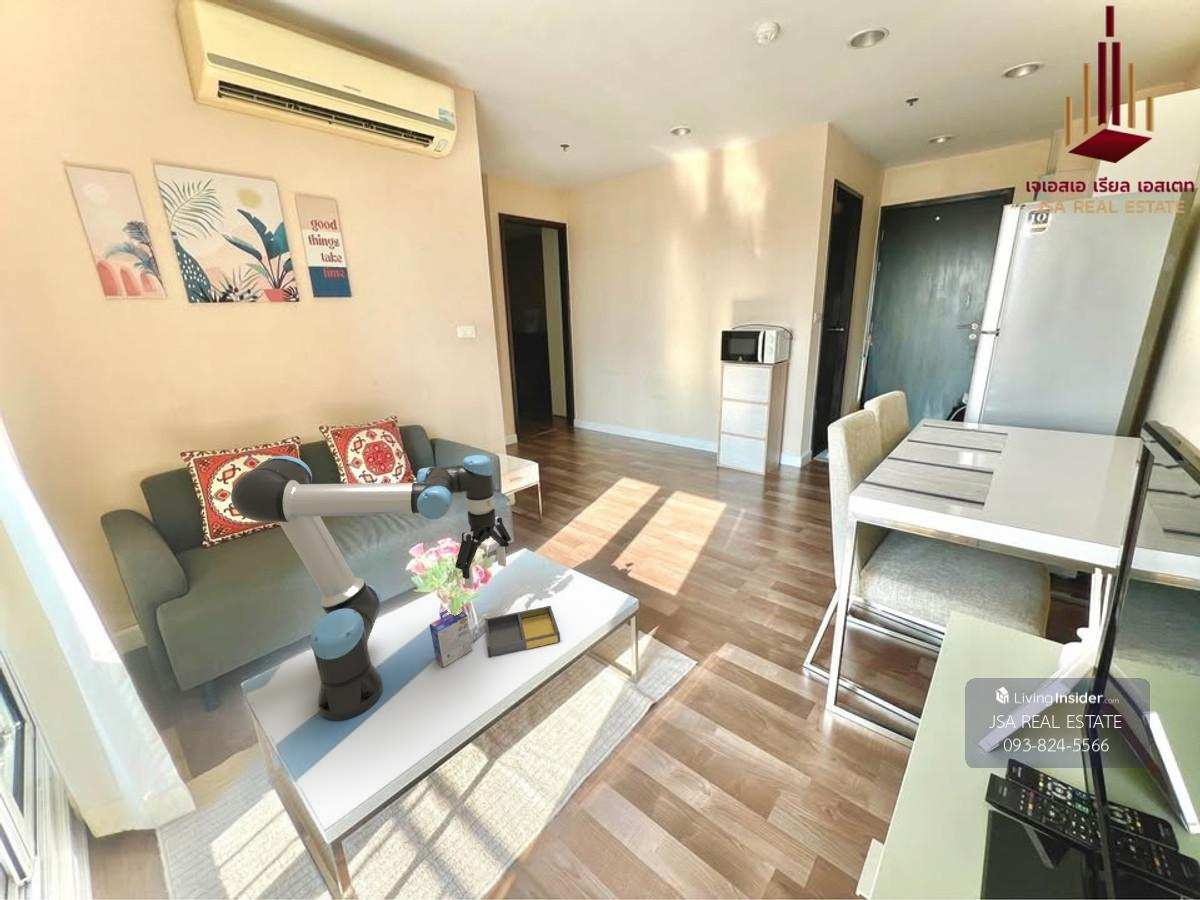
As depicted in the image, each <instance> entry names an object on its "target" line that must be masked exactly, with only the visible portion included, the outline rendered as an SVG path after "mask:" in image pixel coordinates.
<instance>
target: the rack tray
mask: <svg viewBox="0 0 1200 900" xmlns="http://www.w3.org/2000/svg"><path fill="white" fill-rule="evenodd" d="M484 622H485V633H486V642H487V652H488V658H494V657H499V656H503V655H507V654H511V653H515V652H520V651H524V650H529V649H535V648H538V647H541V646H547V645H551V644H552V645H553V644H555V643H560V642H561V633H560V630H559V627H558V624H557V622H556V618H555V615H554V611H553V609H552V607H551V605H546V606H542V607H536V608H533V609H528V610H523V611H518V612H512V613H508V614H502V615H499V616H497V615H496V616H494V617H492V616H491V617H488V618H484Z"/></svg>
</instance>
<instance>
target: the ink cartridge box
mask: <svg viewBox="0 0 1200 900" xmlns="http://www.w3.org/2000/svg"><path fill="white" fill-rule="evenodd" d="M447 610H448V609H446V610H444V611H442V612H440V613H439V617H440V618H439V619H438V620H436V621H434V622H431V623H430V624H429V629H430V636H431V640H432V646H433V650H434V656H435V660H436V662H437V663H438V664H439V665H440V666H441V667H442V668H445V667H447V666H448V665H449V664H451V663H453V662H455V661H456V660H458V659H460V658H461V657H463V656H465V655H467V654H468V653H470V652H472V651H473V646H472V639H471V638H472V637H471V632H470V631H471V630H470V624H469V616H468V614H466V613H465V612H463V611H462V612H461V613H460V614H458V615H456V616H454V615H452V614H450V613H449V612H448V611H447ZM446 613H449V614H447V615H445V614H446ZM444 615H445V616H444Z"/></svg>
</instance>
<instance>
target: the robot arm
mask: <svg viewBox="0 0 1200 900" xmlns="http://www.w3.org/2000/svg"><path fill="white" fill-rule="evenodd" d="M416 475H417V476H416V482H389V483H388V482H382V483H381V482H380V483H379V482H378V483H377V482H376V483H375V482H373V483H370V482H369V483H367V482H366V483H312V481H313V474H312V470H311V469H310V467H309V466H308V464H306V462H304V461H303V460H301V459H299V458H297V457H294V456H291V455H277V456H273V457H271V458H268V459H267V460H265V461H262V462H260V463H259V464H258V465H257V466H256V467H254V468H253V469H251V470H250V471H248V472H247V473H245V474H244V475H242V476H241V477H240V478H238V479H237V481H236V482H235V483H234V485H233V487H232V489H231V494H230V499H231V503H232V507H234V509H235V511H236V512H237V513H239V515H241V516H243V517H244V518H246V519H249V520H251V521H255V522H261V523H279V525H280V526H281V527H280V528H282V530H283V532H284V533H285V536H287V539H288V540H289V541H290V543H291V545H292V546H293V549H294V551H295V552H296V553H297V555H298V557H299V558H300V560H301V561H302V563H303V565H304V566H305V568H306V570H307V571H308V573H309V575H310V576H311V577H312V579H313V582H314V583H315V585H316V586H317V587H318V589H319V591H320V593H321V595H322V596H321V597H322V598H321V599H320V605H321V607H322V609H323V611H324V612H325V614H326V615H325V617H321V618H319V619H318V621H316V623H315V624H314V625H313V627H312V629H311V633H310V644H311V645H310V646H311V649H312V652H313V655H314V658H315V663H316V666H317V669H318V674H319V678H320V689H319V693H318V694H319V695H318V701H317V705H318V710H319V714H320V715H321V716H322V717H323V718H325V719H327V720H330V721H343V720H344V721H345V720H348V719H351V718H354V717H356V716H358V715H360V714H361V715H362V713H365V712H366V711H367V710H369V709H370V708H371V707H372V706H374V705H375V704H376V703H377V701H379V698H380V697H381V696H382V693H383V690H384V683H383V679H382V676H381V674H380V673H379V671H378V670H377V669H376V667H375V666H374V665H373V664H372V662H371V656H370V651H369V647H368V646H369V645H368V643H369V639H370V636H371V633H372V630H373V628H374V626H375V623H376V620H377V617H378V615H379V613H380V610H381V596H380V593H379V591H378V590H377V588H376V587H374V586H373V585H372V584H368V583H367V582H365V580H364V579H363V578H361V577H355V575H354V573H353V572H352V569H351V568H350V566H349V564H348V563H347V560H346V559H345V558H344V556H343V554H342V552H341V551H340V549H339V547H338V545H337V542H336V541H335V540H334V538H333V536H332V534H331V532H330V531H329V529H328V528H327V526H326V525H325V522H324V521H323V519H322V517H337V516H338V517H340V516H341V517H342V516H370V515H371V516H372V515H375V516H377V515H400V514H401V515H404V514H407V515H408V514H419V515H421V516H422V517H424V518H426V519H428V520H438V519H440V518H442V517H444V516H445V515H446V514H447V513H448V511H449V510H450V507H451V505H452V502H453V494H459V493H460V494H461V493H465V496H466V497H465V498H466V499H465V500H466V510H467V520H468V524H469V526H470V530H469V532H462V534H461V542H460V545H459V550H458V554H457V556H456V557H457V558H456V562H455V565H454V566H455V568H456V569H459V570H461V572H462V573H461V574H462V578H463V579H464V586H465V587H467V588H469V589H474V588H475V583H474V572H473V567H472V566H471V565H472V562H473V560H474V558H475V555H476V553H477V550H478V549H479V547H480V546H481V545H482V543H483V542H485V541H486V540H489V539H490V538H492V539H493V540H494V541H495V542H496V543H497V545H496V553H497V554H496V555H497V565H498V566H501V567H504V568H505V567H507V557H506V556H507V547H510V546H509V545H510V543H509V542H511V540H512V538H511V536H510V534H509V532H508V531H507V529H506V527H505V525H504V522H503V518H502V517H501V516H500V517H499V516H497V515H496V509H495V497H494V496H495V495H494V480H493V477H494V476H493V469H492V462H491V459H490V457H488V456H487V455H483V454H482V455H481V454H475V455H469V456H466V457H464V459H463V461H462V464H459V465H445V466H444V465H443V466H429V467H423V468H420V469H418V471H417V474H416ZM494 529H496V531H495V530H494Z"/></svg>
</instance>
